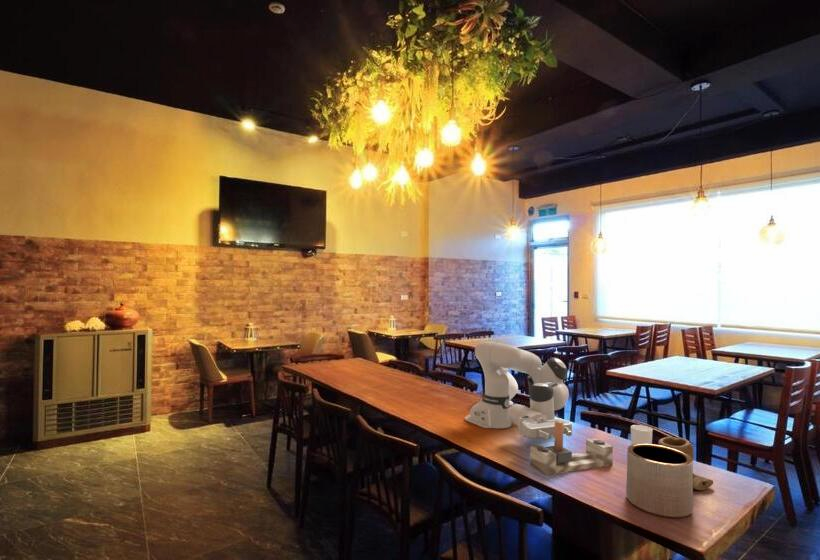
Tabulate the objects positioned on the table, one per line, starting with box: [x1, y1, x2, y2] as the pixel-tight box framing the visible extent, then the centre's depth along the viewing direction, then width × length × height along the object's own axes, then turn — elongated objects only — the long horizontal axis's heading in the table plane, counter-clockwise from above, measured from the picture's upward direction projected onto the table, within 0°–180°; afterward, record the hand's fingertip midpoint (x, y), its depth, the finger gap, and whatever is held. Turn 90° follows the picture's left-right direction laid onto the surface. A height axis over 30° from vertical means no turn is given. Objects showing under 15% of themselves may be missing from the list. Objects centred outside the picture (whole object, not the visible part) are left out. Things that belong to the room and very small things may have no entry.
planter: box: [625, 443, 694, 519], centre depth 134 cm, size 18×18×16 cm
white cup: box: [630, 424, 654, 445], centre depth 176 cm, size 8×8×10 cm
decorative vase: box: [502, 367, 519, 406], centre depth 248 cm, size 18×18×25 cm
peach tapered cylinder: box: [545, 421, 573, 464], centre depth 160 cm, size 6×7×14 cm
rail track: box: [529, 438, 614, 476], centre depth 162 cm, size 30×9×7 cm, turn 110°
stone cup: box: [657, 436, 714, 491], centre depth 149 cm, size 15×12×15 cm
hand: (560, 435), depth 161 cm, fingers open, 8 cm apart
